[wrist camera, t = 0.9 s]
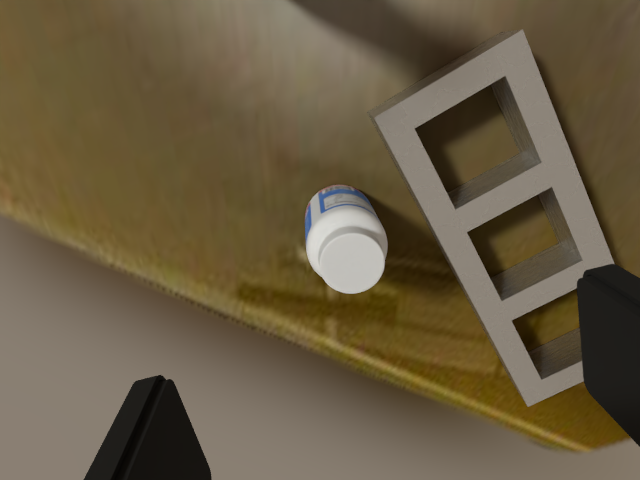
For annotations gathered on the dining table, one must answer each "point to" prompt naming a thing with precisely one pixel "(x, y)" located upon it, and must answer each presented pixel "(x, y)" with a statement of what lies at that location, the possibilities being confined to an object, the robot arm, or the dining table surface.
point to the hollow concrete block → (503, 204)
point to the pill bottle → (345, 239)
